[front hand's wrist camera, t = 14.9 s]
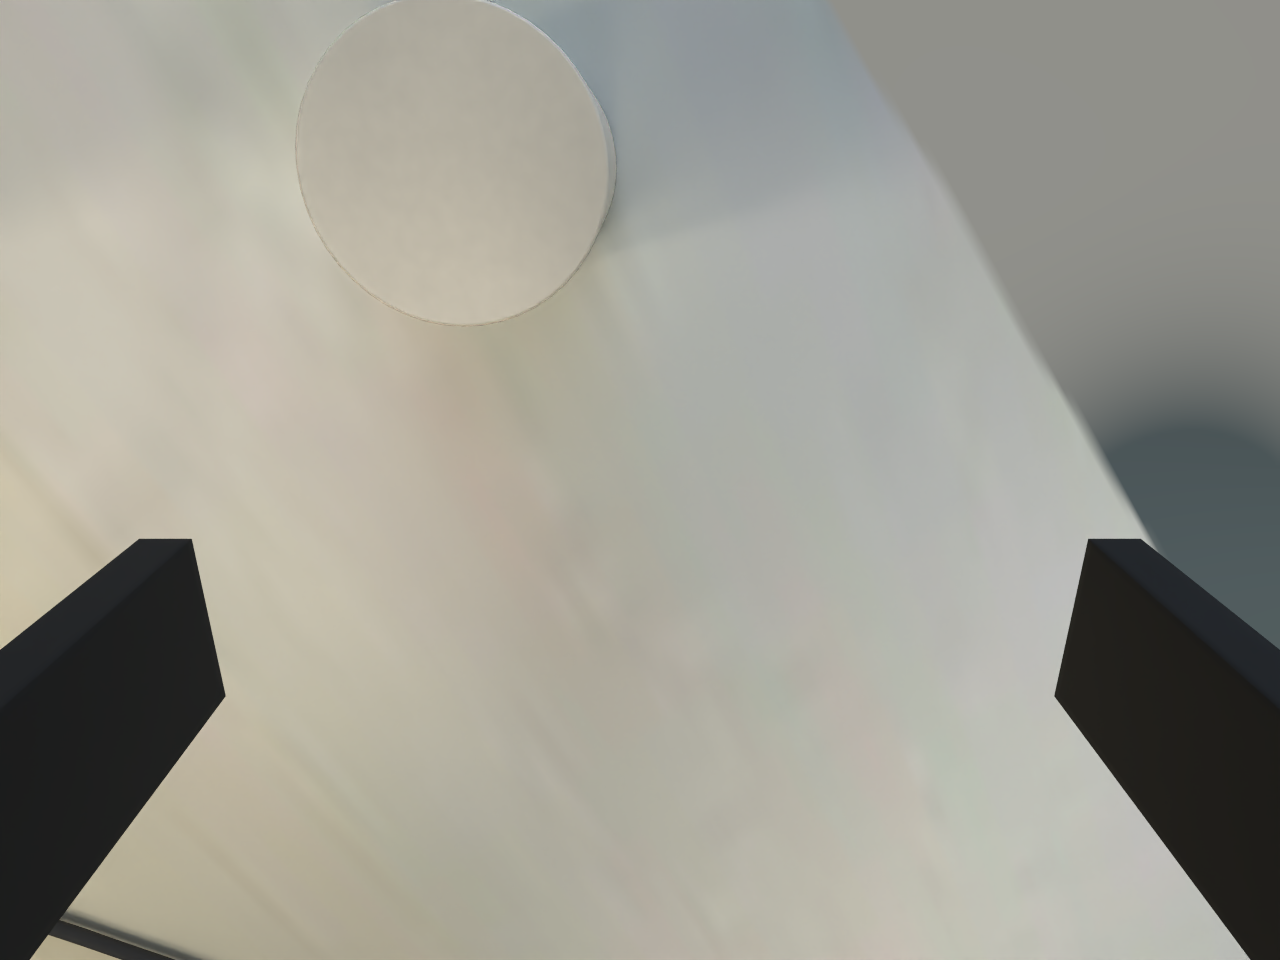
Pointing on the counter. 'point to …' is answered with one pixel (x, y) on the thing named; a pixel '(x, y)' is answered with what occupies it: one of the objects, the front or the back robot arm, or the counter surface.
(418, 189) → the cylinder
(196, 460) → the counter surface
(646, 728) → the counter surface
